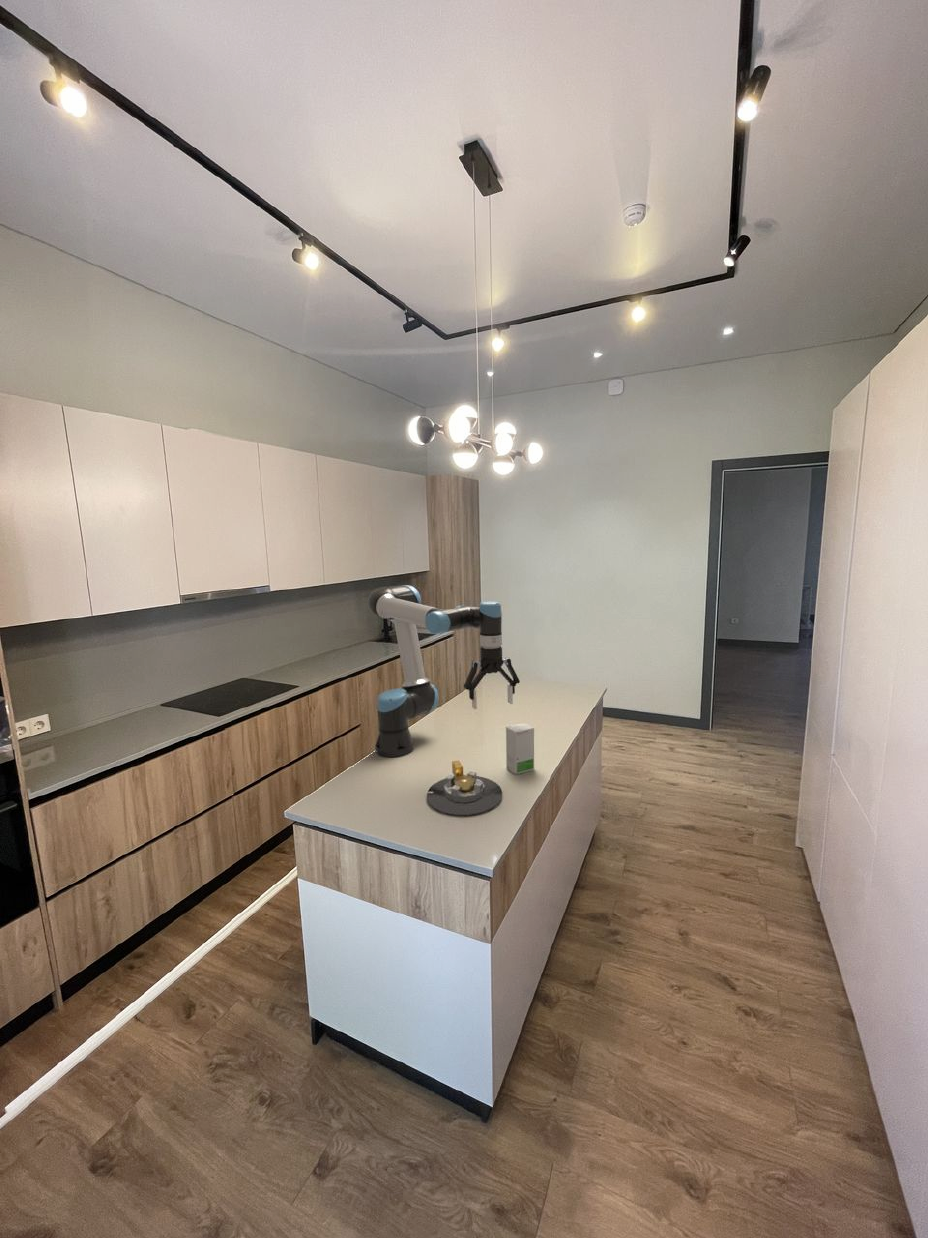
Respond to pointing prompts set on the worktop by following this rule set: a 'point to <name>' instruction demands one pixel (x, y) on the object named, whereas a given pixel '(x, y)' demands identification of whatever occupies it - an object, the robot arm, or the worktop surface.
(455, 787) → the ring nut
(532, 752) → the skincare box
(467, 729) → the worktop surface
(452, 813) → the bowl
